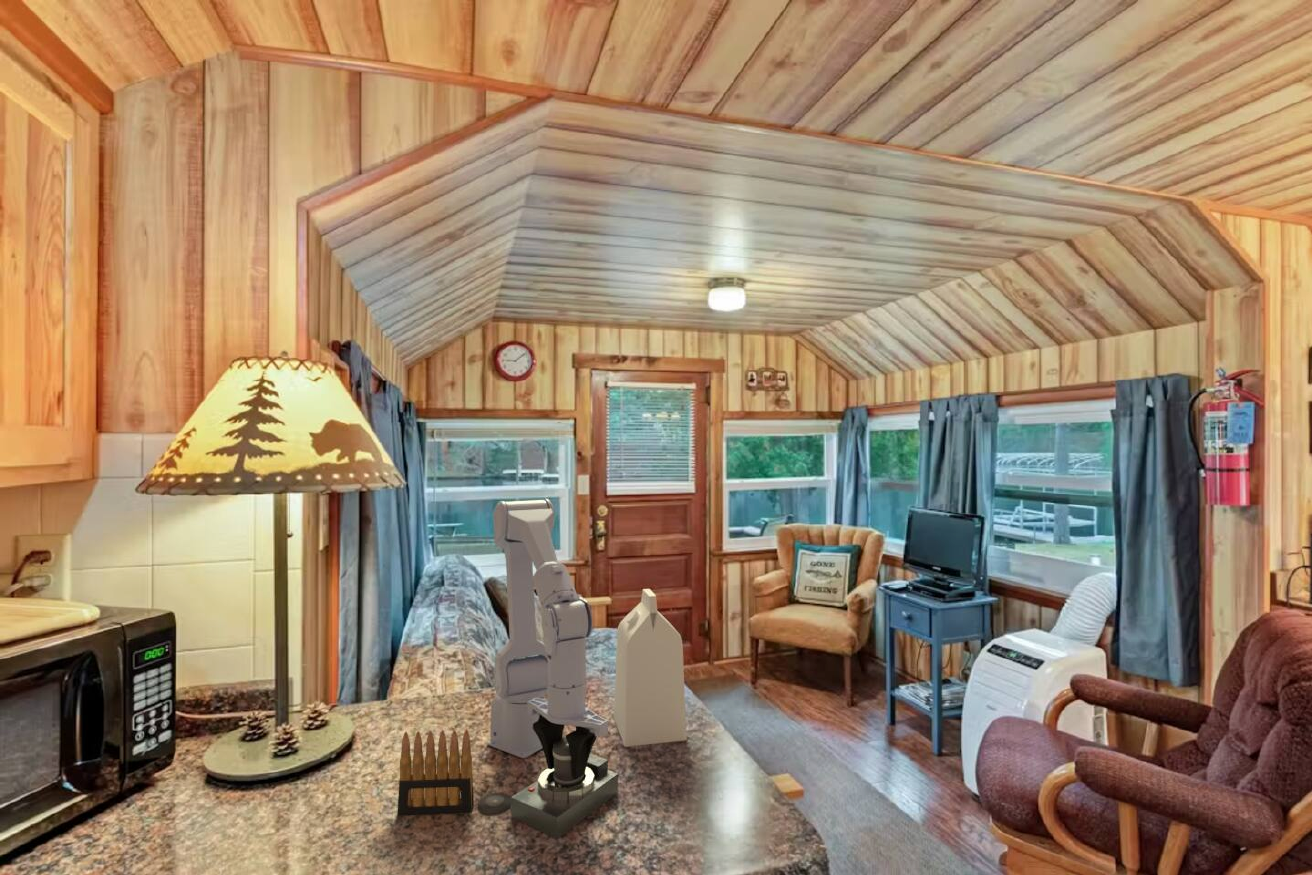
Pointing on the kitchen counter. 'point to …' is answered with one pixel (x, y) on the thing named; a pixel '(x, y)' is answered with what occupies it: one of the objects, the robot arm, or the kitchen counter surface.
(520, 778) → the kitchen counter surface
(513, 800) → the camera body
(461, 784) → the ammunition clip
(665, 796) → the kitchen counter surface
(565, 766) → the lens
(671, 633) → the milk
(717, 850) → the kitchen counter surface
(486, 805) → the lens cap
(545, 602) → the robot arm
